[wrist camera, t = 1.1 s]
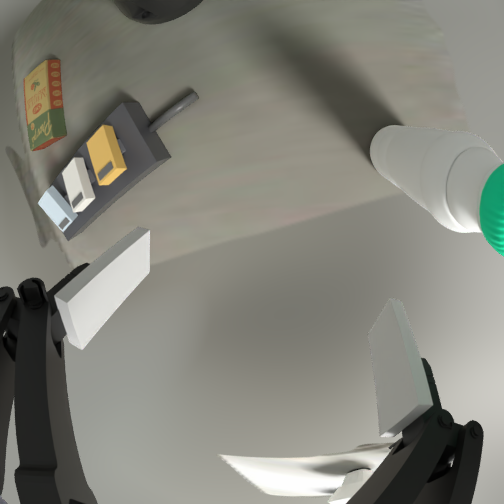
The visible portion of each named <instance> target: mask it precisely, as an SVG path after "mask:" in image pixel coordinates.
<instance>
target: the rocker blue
mask: <svg viewBox="0 0 504 504" xmlns="http://www.w3.org/2000/svg"><path fill="white" fill-rule="evenodd" d="M38 204H39V205H40V206H41V208H42V209H43V210H44V211H45V212H46V213H47V215H48V216H49V217H50V218H51V219H52V220H53V222H54V223H55V224H56V225H57V226H58V227H59V228H60V229H61V231H62V232H64V231H65V230H66V228H67V227H68V226H69V225H70V224H71V223H72V222H73V221H74V220H75V218H76V217H77V216H78V214H77V213H76V212H74V213H73V210H72V208H71V206H70V205H69V204H68V203H67V202H66V201H65V199H64V198H63V197H62V196H61V195H60V193H59V192H58V191H57V190H56V189H55V187H54V186H53V185H52V186H51V187H50V188H49V189H48V190H47V191H46V192H45V193H44V195H43V196H42V198H41V199H40V201H39V203H38Z"/></svg>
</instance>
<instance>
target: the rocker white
mask: <svg viewBox="0 0 504 504" xmlns="http://www.w3.org/2000/svg"><path fill="white" fill-rule="evenodd" d="M62 175H63V179H64V183H65V186H66V190H67V193H68V197H69V200H70V204H71V207H72V210H73V213H74V212H81V211H83V210H84V209H85V208H86V207H87V206H88V205H89V204H90V203H91V202H92V201H93V200H94V199H95V195H94V192H93V189H92V186H91V183H90V179H89V176H88V173H87V169H86V166H85V163H84V159H83V158H73V159H72V161H71V162H70V163H69V164H68V166H67V167H66V168H65V170H64V171H63V172H62Z"/></svg>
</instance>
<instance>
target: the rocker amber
mask: <svg viewBox="0 0 504 504" xmlns="http://www.w3.org/2000/svg"><path fill="white" fill-rule="evenodd" d="M87 147H88V151H89V154H90V158H91V161H92V164H93V168H94V171H95V174H96V177H97V180H98V183H99V185H109V184H110V183H112V182H113V181H114V180H115V179H116V178H117V177H118V176H119V175H120V174H121V173H123V172H124V171H125V170H126V169H127V167H126V165H125V162H124V159H123V156H122V153H121V150H120V148H119V145H118V142H117V139H116V136H115V133H114V129H113V126H108V125H102V126H101V127H100V128H99V129H98V131H97V132H96V133H95V134H94V135H93V136H92V137H91V138H90V139H89V140H88V142H87Z"/></svg>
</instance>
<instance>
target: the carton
mask: <svg viewBox="0 0 504 504" xmlns="http://www.w3.org/2000/svg"><path fill="white" fill-rule="evenodd" d="M24 97H25V110H26V120H27V128H28V136H29V143H30V149H31V151H36V150H41V149H44V148H46V147H48V146H49V145H51V144H53V143H54V142H56V141H58V140H60V139H61V138H63V137H65V136H66V135H67V132H66V125H65V119H64V110H63V101H62V89H61V72H60V60H45V61H44V62H42V63H41V64H40V65H39V66H38V67H36V68H35V69H34V70H33V71H32V72H31V73H30V74H29V75H28V76H27V77H26V78H24Z"/></svg>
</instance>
